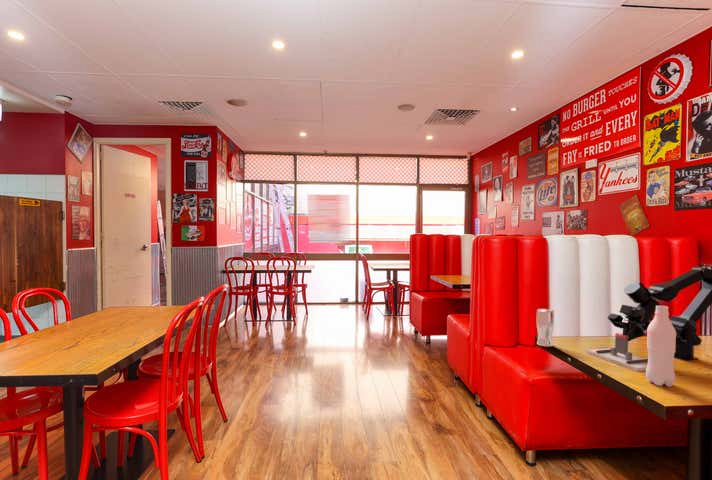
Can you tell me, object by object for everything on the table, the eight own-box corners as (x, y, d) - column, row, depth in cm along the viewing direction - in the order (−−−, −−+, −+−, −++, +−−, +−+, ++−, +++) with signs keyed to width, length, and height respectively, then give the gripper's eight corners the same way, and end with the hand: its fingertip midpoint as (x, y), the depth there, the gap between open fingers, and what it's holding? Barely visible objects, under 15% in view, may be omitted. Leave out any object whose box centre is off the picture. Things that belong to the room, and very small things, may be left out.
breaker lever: (617, 351, 139) (618, 332, 139) (628, 355, 135) (628, 335, 135) (614, 352, 138) (615, 333, 138) (624, 355, 134) (625, 335, 134)
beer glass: (549, 342, 158) (550, 309, 158) (556, 347, 151) (557, 312, 151) (533, 341, 159) (533, 308, 159) (539, 346, 152) (540, 311, 152)
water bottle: (639, 379, 118) (641, 304, 118) (659, 379, 119) (661, 304, 118) (660, 388, 111) (662, 308, 111) (681, 388, 112) (683, 308, 111)
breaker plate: (609, 350, 148) (609, 341, 148) (662, 368, 129) (662, 358, 128) (586, 352, 145) (586, 343, 145) (636, 371, 125) (636, 360, 125)
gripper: (611, 293, 147) (589, 322, 144) (659, 302, 129) (636, 334, 126) (625, 311, 149) (604, 340, 146) (675, 322, 131) (652, 354, 128)
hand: (622, 341), depth 137 cm, fingers closed, pressing on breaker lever
